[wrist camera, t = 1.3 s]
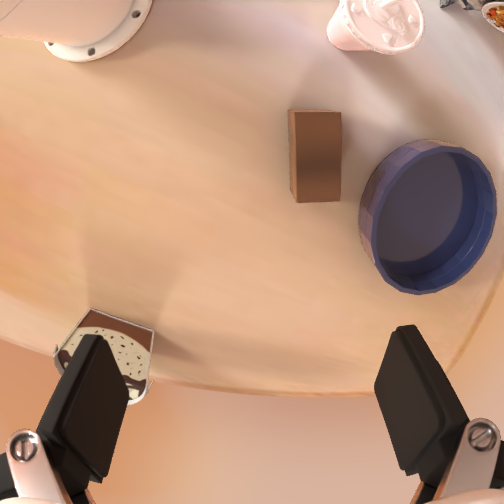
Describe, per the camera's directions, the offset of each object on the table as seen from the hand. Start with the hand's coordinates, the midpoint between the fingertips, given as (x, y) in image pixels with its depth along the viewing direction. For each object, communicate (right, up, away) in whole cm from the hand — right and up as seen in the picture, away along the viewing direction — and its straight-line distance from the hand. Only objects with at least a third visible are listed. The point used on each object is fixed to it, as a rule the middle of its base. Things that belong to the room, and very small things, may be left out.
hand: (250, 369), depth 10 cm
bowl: (+20, +8, +23) cm, 31 cm away
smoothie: (+9, +24, +14) cm, 29 cm away
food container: (-18, -7, +30) cm, 36 cm away
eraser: (+6, +14, +19) cm, 24 cm away
